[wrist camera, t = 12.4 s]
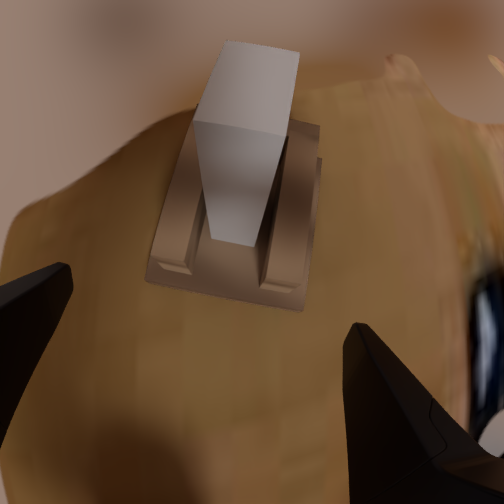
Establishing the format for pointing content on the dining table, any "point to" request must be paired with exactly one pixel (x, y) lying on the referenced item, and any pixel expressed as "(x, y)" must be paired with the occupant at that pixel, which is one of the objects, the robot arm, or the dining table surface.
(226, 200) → the clay bar
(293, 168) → the clay rack
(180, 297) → the dining table surface
